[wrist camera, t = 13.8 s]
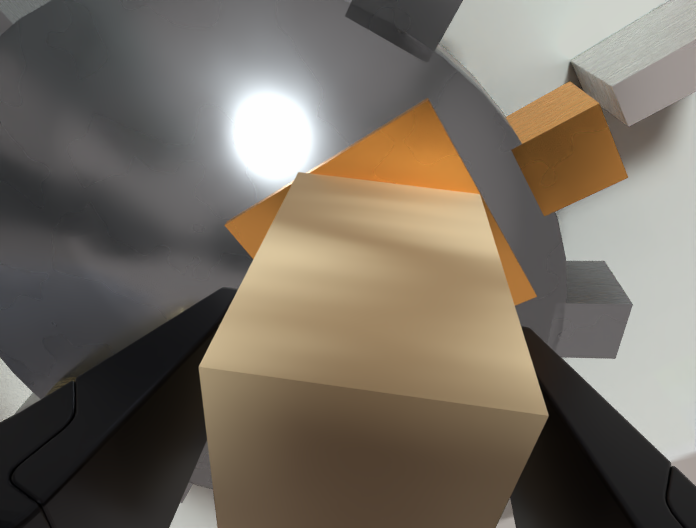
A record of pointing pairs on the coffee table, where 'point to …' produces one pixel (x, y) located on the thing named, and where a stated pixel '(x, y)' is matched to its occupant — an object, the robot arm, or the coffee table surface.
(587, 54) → the stand
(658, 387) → the coffee table surface
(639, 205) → the coffee table surface
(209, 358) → the block
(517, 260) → the sprocket
